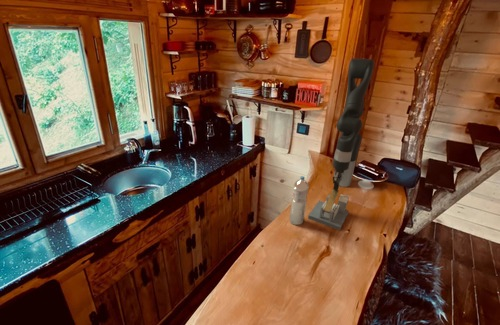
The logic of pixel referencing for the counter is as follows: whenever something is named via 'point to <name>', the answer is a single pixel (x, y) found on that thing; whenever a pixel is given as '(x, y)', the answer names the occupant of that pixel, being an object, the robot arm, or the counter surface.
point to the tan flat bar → (331, 201)
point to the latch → (343, 198)
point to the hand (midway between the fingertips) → (335, 189)
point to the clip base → (325, 219)
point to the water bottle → (299, 201)
